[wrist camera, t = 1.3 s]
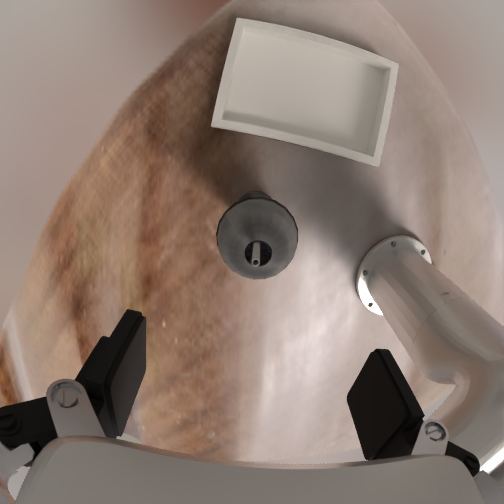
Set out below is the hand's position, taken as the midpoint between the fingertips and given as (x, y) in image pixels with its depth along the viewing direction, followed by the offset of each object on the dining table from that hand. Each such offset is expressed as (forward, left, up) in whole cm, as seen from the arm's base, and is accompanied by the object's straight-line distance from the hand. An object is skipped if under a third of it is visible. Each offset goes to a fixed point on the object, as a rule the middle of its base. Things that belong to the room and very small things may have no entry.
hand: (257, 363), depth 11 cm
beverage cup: (0, 0, -28) cm, 28 cm away
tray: (-3, -16, -28) cm, 32 cm away
